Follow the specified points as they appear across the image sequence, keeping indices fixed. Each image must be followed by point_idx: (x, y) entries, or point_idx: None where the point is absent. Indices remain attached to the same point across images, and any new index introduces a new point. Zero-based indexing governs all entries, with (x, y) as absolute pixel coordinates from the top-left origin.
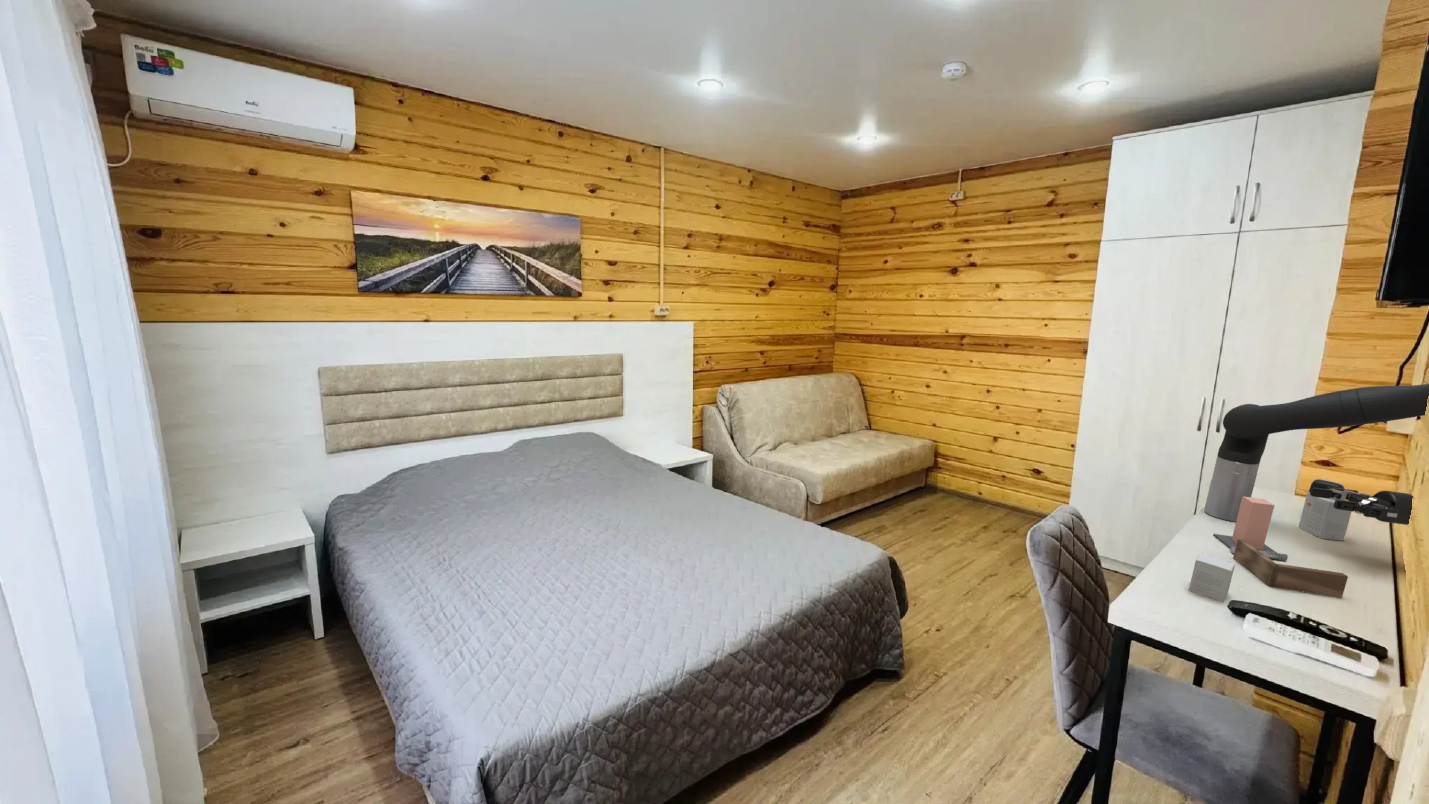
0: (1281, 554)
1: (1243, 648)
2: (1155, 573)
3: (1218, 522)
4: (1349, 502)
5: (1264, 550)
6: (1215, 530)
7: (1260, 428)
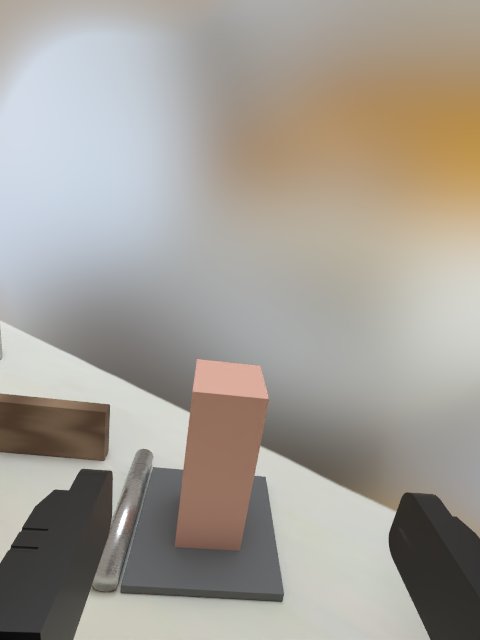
0: (105, 554)
1: None
2: (40, 341)
3: None
4: (37, 550)
5: (168, 548)
6: (323, 510)
7: None
